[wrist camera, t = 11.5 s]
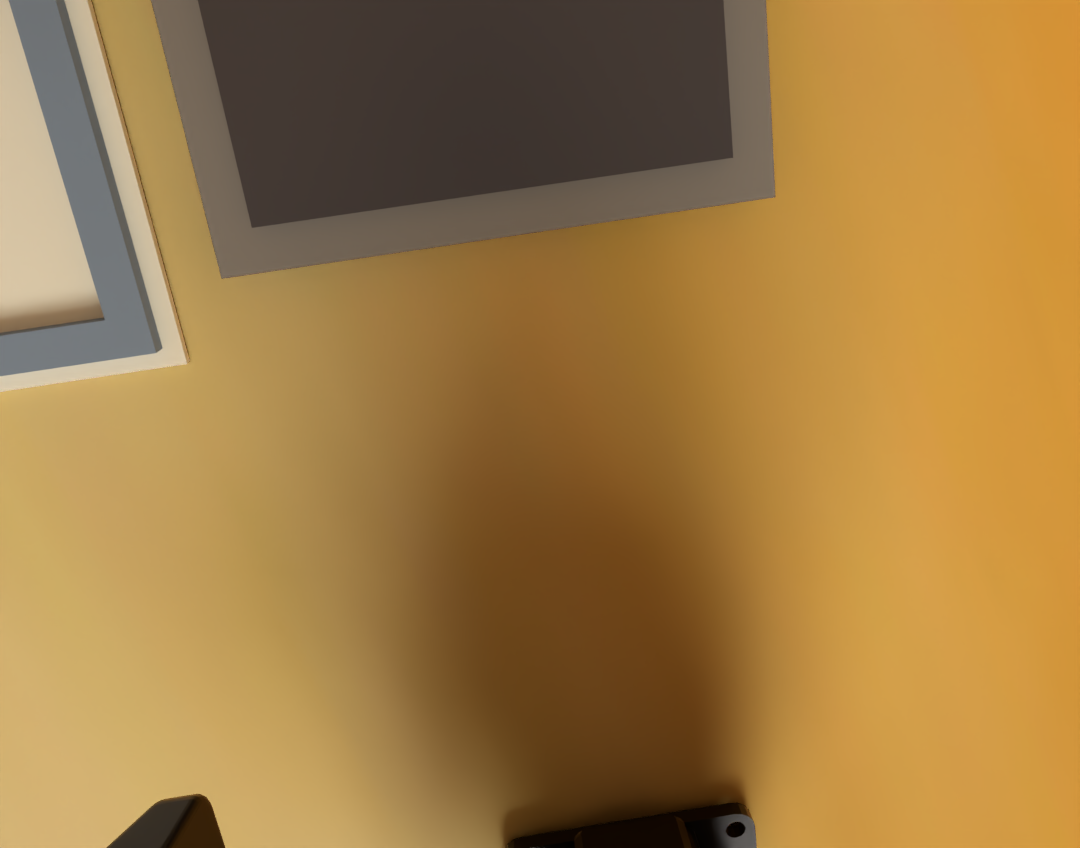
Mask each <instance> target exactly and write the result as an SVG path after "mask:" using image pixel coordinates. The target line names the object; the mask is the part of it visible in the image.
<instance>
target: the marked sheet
mask: <svg viewBox="0 0 1080 848" xmlns="http://www.w3.org/2000/svg"><path fill="white" fill-rule="evenodd" d="M189 362H190V360H189V356H188V352H187V349H186V345H185V341H184V338H183V334H182V330H181V327H180V323H179V319H178V316H177V312H176V308H175V305H174V301H173V297H172V294H171V290H170V287H169V283H168V279H167V276H166V272H165V268H164V265H163V261H162V257H161V254H160V250H159V246H158V243H157V239H156V235H155V232H154V228H153V224H152V221H151V217H150V213H149V210H148V206H147V202H146V199H145V195H144V191H143V188H142V184H141V181H140V177H139V173H138V170H137V166H136V162H135V159H134V155H133V151H132V148H131V144H130V140H129V137H128V133H127V129H126V126H125V122H124V118H123V115H122V111H121V107H120V104H119V100H118V96H117V93H116V89H115V85H114V82H113V78H112V74H111V71H110V67H109V64H108V60H107V56H106V53H105V49H104V45H103V42H102V38H101V34H100V31H99V27H98V23H97V20H96V16H95V12H94V9H93V5H92V1H91V0H0V392H3V391H10V390H16V389H23V388H30V387H36V386H43V385H50V384H56V383H63V382H70V381H77V380H83V379H90V378H97V377H103V376H110V375H117V374H123V373H130V372H137V371H143V370H150V369H157V368H164V367H170V366H177V365H184V364H188V363H189Z"/></svg>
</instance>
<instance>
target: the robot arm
mask: <svg viewBox="0 0 1080 848" xmlns="http://www.w3.org/2000/svg"><path fill="white" fill-rule="evenodd" d="M733 822H739V823H738V824H736V825H734V826H728V825H729V824H731V823H733ZM107 848H225V845H224V842H223V839H222V836H221V833H220V830H219V827H218V823H217V820H216V817H215V814H214V811H213V808H212V806H211V803H210V802H209V800H208V799H207V797H205V796H203V795H201V794H193V795H187V796H181V797H175V798H168V799H164V800H161V801H159V802H157V803H155V804H154V805H153V806H152V807H150V808H149V809H148V810H147V811H146V812H145V813H144V814H143V815H142V816H141V817H140V818H138V819H137V820H136V821H135V822H134V823H133V824H132V825H131V826H130V827H129V828H128V829H126V830H125V831H124V832H123V833H122V834H121V835H120V836H119V837H118V838H117V839H115V840H114V841H113V842H112V843H111V844H110V845H109V846H108V847H107ZM506 848H757V847H756V833H755V825H754V822H753V819H752V817H751V814H750V812H749V809H747V808H746V807H745V806H744V805H742V804H739V803H727V804H721V805H715V806H709V807H703V808H697V809H691V810H685V811H678V812H672V813H666V814H660V815H654V816H648V817H642V818H636V819H630V820H623V821H617V822H611V823H605V824H599V825H593V826H587V827H581V828H574V829H568V830H562V831H556V832H550V833H544V834H538V835H532V836H526V837H520V838H517V839H514V840H512V841H511V842H510V843H509V844H508V845H507V846H506Z"/></svg>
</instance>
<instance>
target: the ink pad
mask: <svg viewBox="0 0 1080 848" xmlns="http://www.w3.org/2000/svg"><path fill="white" fill-rule="evenodd" d="M151 2H152V6H153V10H154V14H155V18H156V22H157V26H158V30H159V34H160V37H161V41H162V45H163V49H164V53H165V57H166V61H167V65H168V69H169V73H170V77H171V81H172V85H173V89H174V93H175V97H176V101H177V105H178V108H179V112H180V116H181V120H182V124H183V128H184V132H185V136H186V140H187V144H188V148H189V152H190V156H191V160H192V164H193V168H194V172H195V176H196V179H197V183H198V187H199V191H200V195H201V199H202V203H203V207H204V211H205V215H206V219H207V223H208V227H209V231H210V235H211V239H212V243H213V247H214V250H215V254H216V258H217V262H218V266H219V270H220V274H221V278H222V279H223V278H230V277H237V276H243V275H250V274H257V273H264V272H271V271H277V270H284V269H291V268H298V267H304V266H311V265H318V264H325V263H332V262H338V261H345V260H352V259H359V258H366V257H372V256H379V255H386V254H393V253H400V252H406V251H413V250H420V249H427V248H433V247H440V246H447V245H454V244H461V243H467V242H474V241H481V240H488V239H495V238H501V237H508V236H515V235H522V234H529V233H535V232H542V231H549V230H556V229H562V228H569V227H576V226H583V225H590V224H596V223H603V222H610V221H617V220H624V219H630V218H637V217H644V216H651V215H658V214H664V213H671V212H678V211H685V210H691V209H698V208H705V207H712V206H719V205H725V204H732V203H739V202H746V201H753V200H759V199H766V198H773V197H775V180H774V159H773V138H772V118H771V97H770V76H769V55H768V34H767V13H766V0H151Z"/></svg>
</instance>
